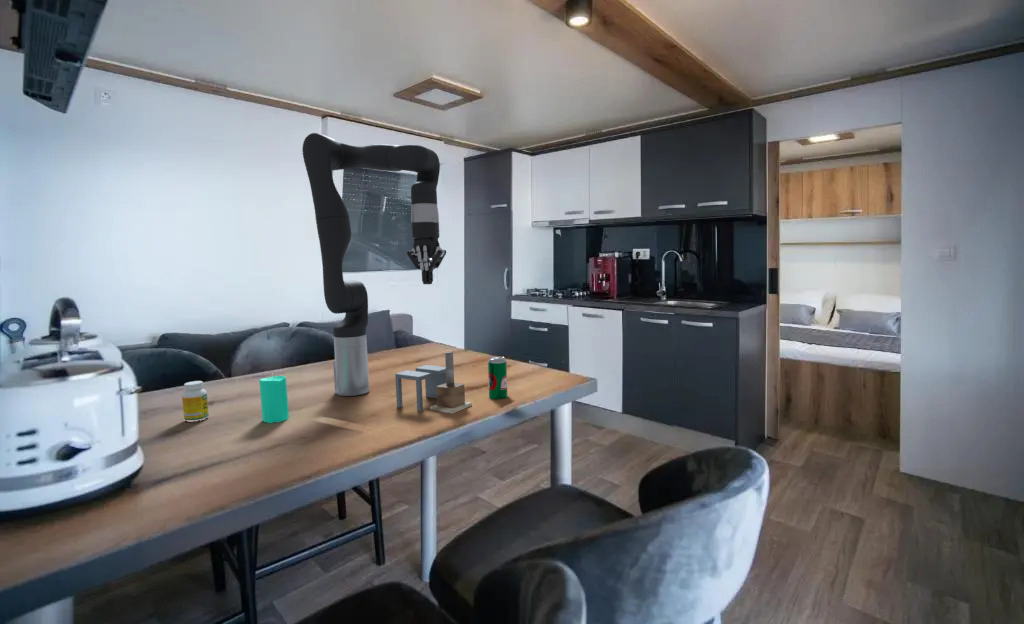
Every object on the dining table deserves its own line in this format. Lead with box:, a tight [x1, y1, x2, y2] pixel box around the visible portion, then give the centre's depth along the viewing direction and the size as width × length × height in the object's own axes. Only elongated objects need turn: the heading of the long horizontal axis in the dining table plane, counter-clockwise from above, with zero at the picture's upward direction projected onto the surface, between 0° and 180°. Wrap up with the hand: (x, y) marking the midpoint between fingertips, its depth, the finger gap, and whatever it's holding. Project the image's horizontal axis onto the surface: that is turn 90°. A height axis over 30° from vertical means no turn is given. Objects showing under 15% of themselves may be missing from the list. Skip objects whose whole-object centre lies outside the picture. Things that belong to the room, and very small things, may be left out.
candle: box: [258, 372, 290, 424], centre depth 127 cm, size 6×6×12 cm
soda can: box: [487, 356, 509, 400], centre depth 138 cm, size 5×5×12 cm
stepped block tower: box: [429, 351, 473, 415], centre depth 129 cm, size 7×8×14 cm
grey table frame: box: [394, 364, 446, 412], centre depth 135 cm, size 27×14×10 cm, turn 58°
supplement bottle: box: [181, 380, 210, 420], centre depth 129 cm, size 5×5×10 cm
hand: (427, 284), depth 143 cm, fingers closed
